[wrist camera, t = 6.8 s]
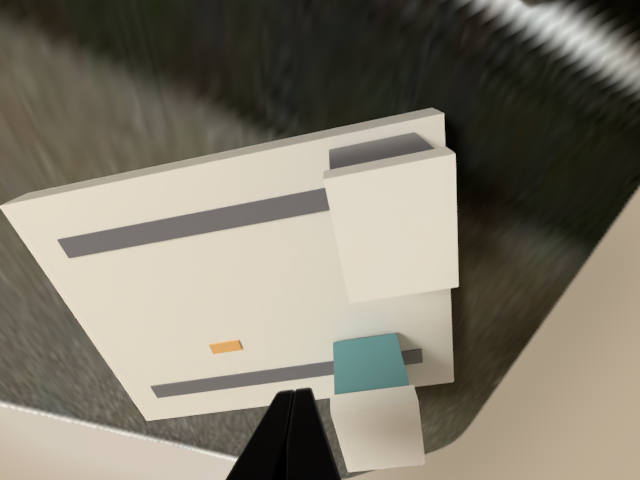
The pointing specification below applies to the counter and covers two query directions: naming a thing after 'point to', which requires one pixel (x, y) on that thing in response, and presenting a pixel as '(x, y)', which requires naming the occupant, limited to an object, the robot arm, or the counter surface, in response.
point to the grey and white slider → (394, 216)
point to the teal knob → (375, 405)
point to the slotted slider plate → (225, 274)
